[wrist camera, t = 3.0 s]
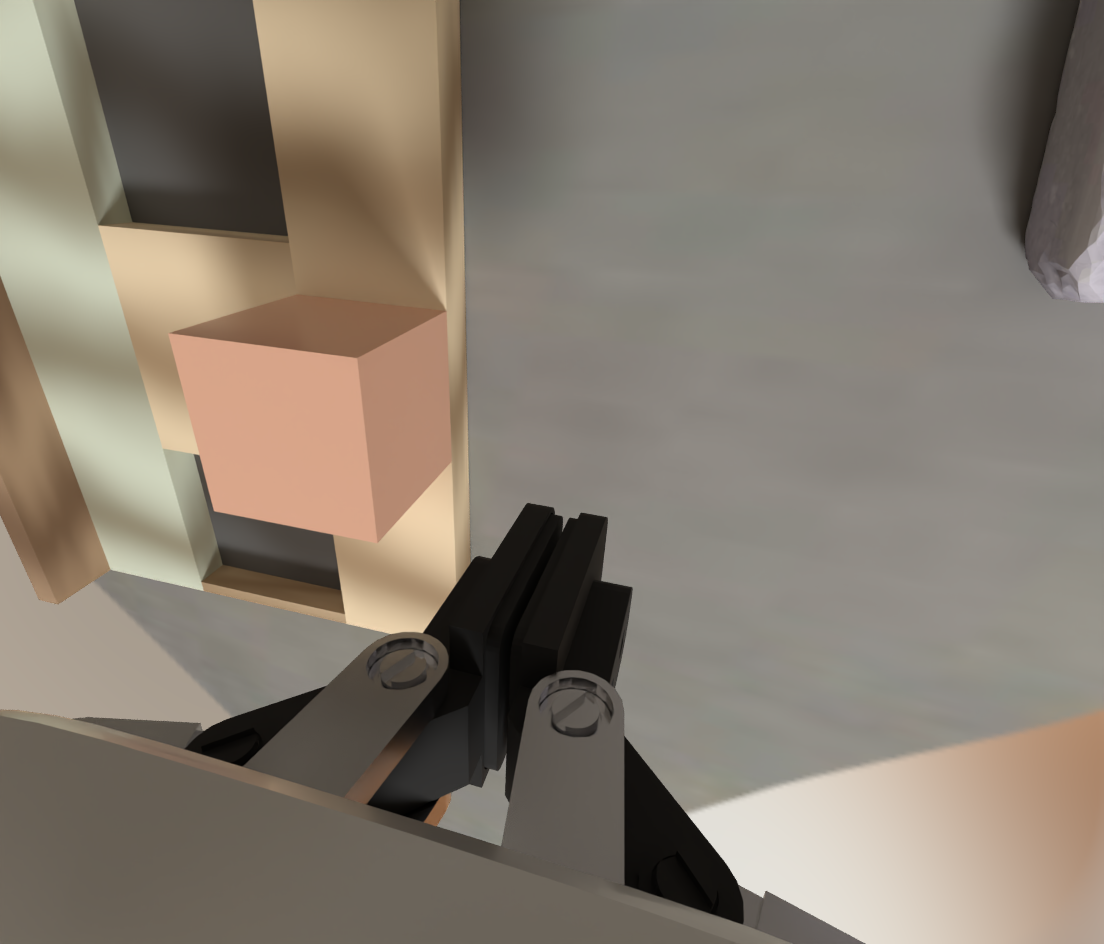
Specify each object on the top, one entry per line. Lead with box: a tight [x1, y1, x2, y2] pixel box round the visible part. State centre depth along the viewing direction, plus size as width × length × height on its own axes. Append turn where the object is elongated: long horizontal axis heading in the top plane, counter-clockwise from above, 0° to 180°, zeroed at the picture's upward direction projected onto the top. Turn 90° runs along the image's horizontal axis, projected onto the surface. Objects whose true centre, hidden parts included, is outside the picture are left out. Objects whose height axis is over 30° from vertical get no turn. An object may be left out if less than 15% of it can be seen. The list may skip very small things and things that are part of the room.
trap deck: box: [0, 0, 471, 634], centre depth 20 cm, size 22×18×4 cm
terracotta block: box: [168, 294, 452, 543], centre depth 17 cm, size 5×5×5 cm
